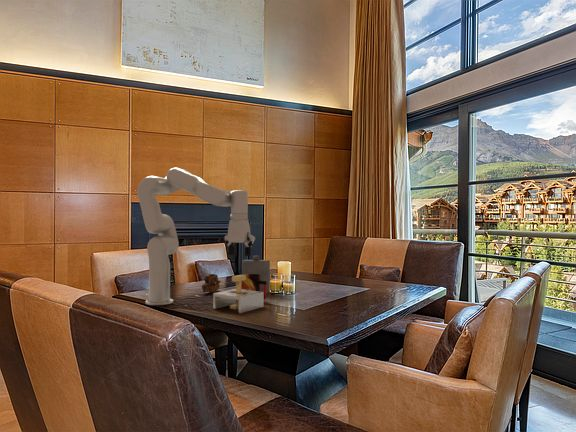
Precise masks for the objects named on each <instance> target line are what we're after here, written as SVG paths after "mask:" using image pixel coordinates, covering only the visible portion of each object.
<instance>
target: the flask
mask: <svg viewBox="0 0 576 432" xmlns="http://www.w3.org/2000/svg"><path fill="white" fill-rule="evenodd" d="M270 261H271V260H269V259H260V255H252V259H243V260H242V261H241V263H242V265H241V266H242V267H241V268H242V269H241V272H242V274H241V275H243V274H259V275H260V280H261V281H266V292H267V294H269V293H270V292H271V291H270V286H271V285H270V284H271V283H270V280H271V279H270V278H271V277H270V275H271V274H270V273H271V270H270V269H271V267H270V266H271V262H270ZM260 292H264V284H260Z"/></svg>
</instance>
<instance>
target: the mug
mask: <svg viewBox="0 0 576 432" xmlns="http://www.w3.org/2000/svg"><path fill="white" fill-rule="evenodd" d="M243 275H246V280H242V281H241V289H244V290H252V291H260V284H264V300H267V294H268V293H267V292H266V281H261V280H260V275H259V274H243Z"/></svg>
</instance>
